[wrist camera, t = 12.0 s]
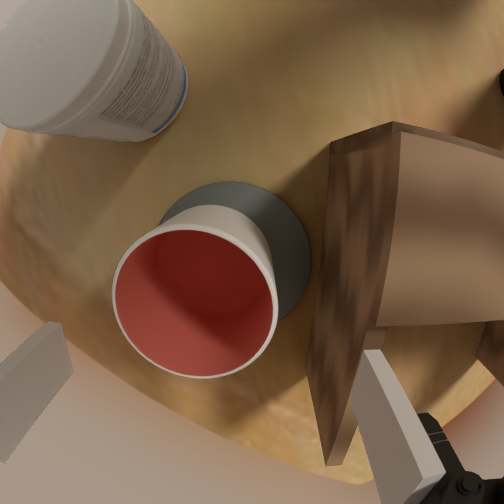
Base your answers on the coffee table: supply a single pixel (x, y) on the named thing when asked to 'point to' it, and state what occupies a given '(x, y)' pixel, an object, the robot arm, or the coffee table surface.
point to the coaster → (271, 225)
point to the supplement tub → (88, 71)
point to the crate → (403, 256)
